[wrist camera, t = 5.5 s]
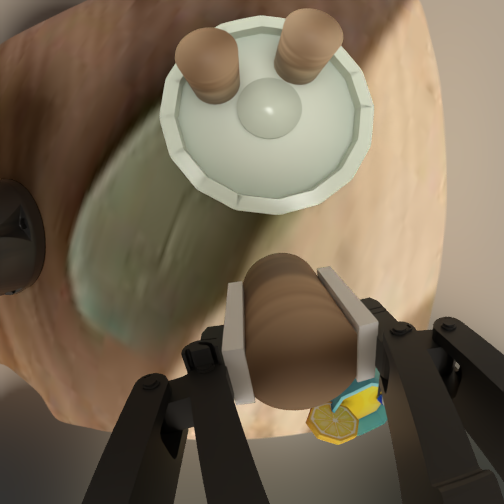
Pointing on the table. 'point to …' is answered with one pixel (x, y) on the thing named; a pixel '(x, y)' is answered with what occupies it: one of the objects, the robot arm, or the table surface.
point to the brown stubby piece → (295, 335)
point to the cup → (349, 413)
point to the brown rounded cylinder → (210, 64)
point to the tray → (270, 128)
